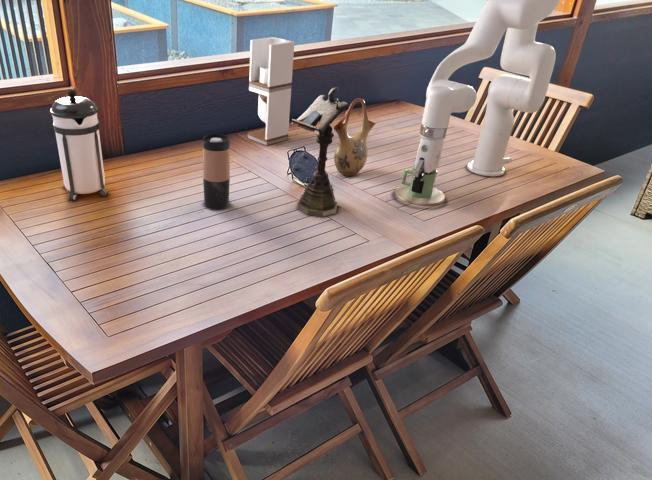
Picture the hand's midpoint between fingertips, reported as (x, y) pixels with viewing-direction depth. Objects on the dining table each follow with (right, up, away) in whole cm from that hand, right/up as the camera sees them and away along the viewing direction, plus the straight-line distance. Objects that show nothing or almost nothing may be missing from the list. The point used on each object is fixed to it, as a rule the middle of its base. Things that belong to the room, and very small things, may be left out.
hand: (421, 187), depth 176 cm
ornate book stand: (-34, -9, -8) cm, 36 cm away
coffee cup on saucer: (0, -2, +1) cm, 2 cm away
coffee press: (-104, -1, -2) cm, 104 cm away
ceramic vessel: (-20, +8, +17) cm, 27 cm away
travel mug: (-63, -7, -7) cm, 64 cm away
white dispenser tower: (-47, +28, +44) cm, 70 cm away
